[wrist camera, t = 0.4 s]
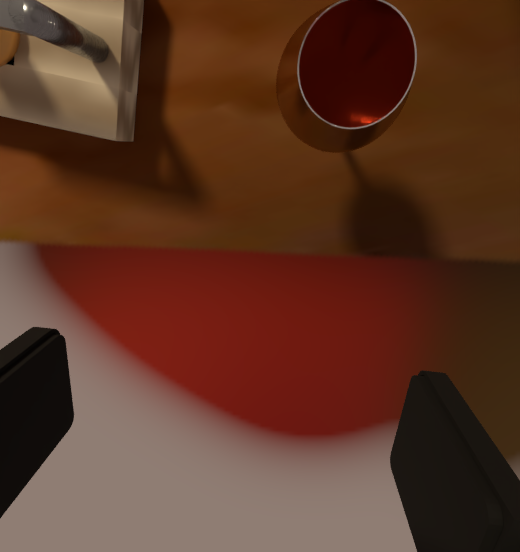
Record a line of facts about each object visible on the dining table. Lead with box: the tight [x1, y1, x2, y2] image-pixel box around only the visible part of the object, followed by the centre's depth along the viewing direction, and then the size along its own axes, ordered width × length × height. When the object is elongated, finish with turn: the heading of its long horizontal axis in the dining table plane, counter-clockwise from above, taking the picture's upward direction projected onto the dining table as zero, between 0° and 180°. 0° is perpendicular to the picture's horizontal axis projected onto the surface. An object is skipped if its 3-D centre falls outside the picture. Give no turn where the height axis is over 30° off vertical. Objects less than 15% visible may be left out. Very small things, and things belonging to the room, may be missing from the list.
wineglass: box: [276, 0, 417, 153], centre depth 26 cm, size 8×8×18 cm
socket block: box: [0, 0, 144, 142], centre depth 33 cm, size 14×20×4 cm
